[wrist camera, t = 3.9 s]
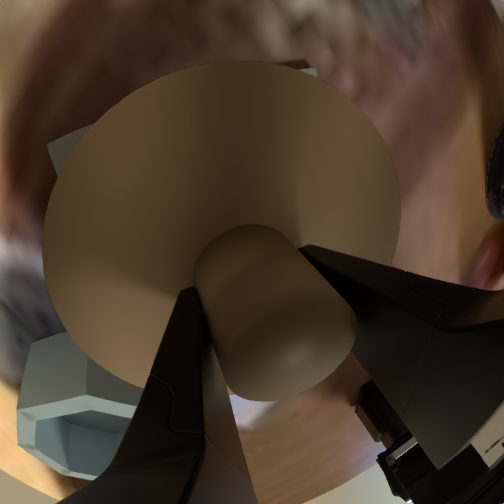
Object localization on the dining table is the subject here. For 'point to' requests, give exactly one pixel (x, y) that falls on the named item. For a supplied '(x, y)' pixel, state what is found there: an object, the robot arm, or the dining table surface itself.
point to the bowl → (72, 408)
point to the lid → (220, 223)
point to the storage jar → (496, 178)
